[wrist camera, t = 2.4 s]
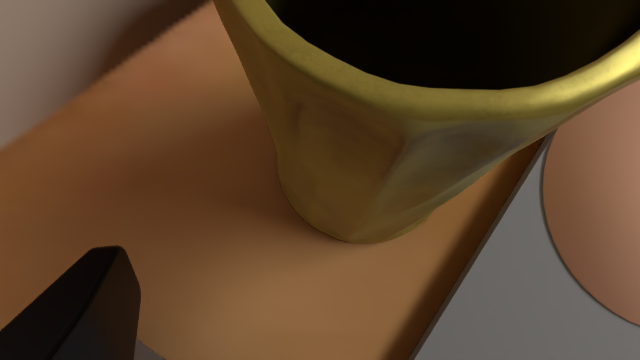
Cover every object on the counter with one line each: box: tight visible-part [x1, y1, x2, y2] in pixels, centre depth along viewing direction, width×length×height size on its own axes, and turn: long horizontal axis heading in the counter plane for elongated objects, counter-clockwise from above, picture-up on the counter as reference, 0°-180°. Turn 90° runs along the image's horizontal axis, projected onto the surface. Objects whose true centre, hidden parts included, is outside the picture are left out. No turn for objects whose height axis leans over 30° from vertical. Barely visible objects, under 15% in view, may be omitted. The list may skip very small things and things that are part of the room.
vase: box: [213, 0, 640, 243], centre depth 12 cm, size 6×6×14 cm
